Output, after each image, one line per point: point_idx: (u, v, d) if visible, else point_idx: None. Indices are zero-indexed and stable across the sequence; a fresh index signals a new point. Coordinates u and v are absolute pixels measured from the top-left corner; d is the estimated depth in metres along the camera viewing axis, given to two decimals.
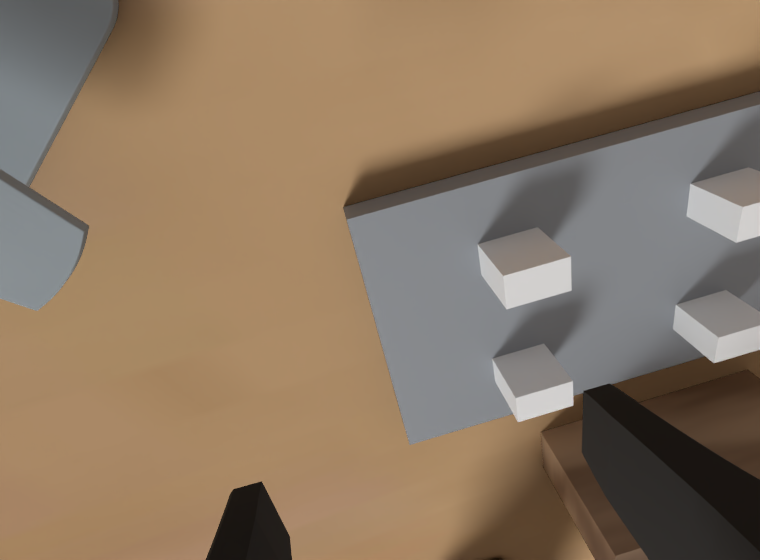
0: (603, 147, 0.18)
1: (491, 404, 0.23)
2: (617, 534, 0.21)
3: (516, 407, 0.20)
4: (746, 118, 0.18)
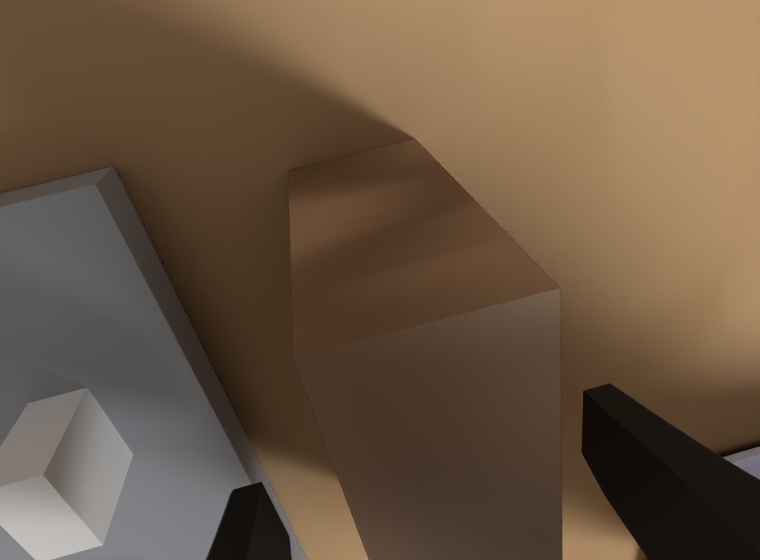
0: None
1: None
2: None
3: None
4: None
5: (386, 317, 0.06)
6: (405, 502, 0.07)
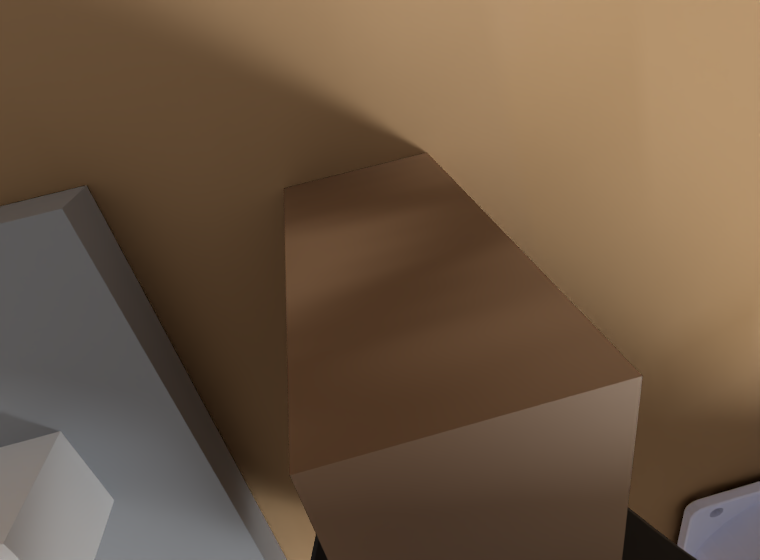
0: None
1: None
2: None
3: None
4: None
5: (412, 411, 0.04)
6: None
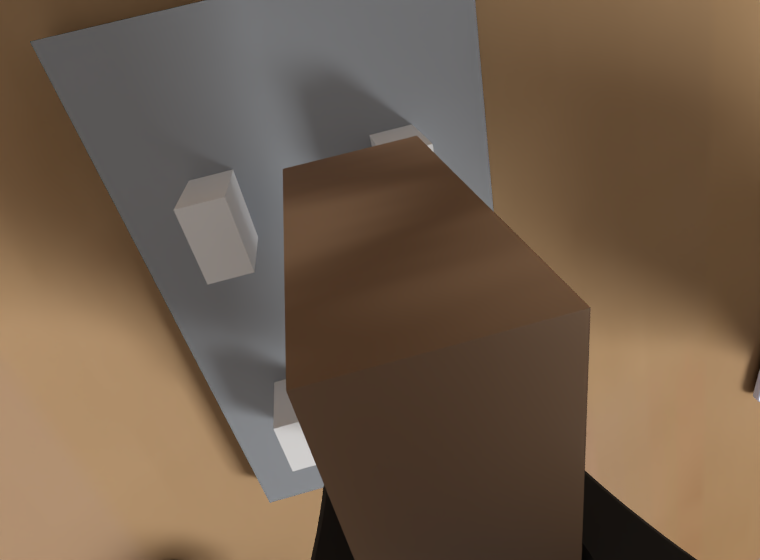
0: (189, 347, 0.18)
1: None
2: None
3: None
4: (131, 210, 0.15)
5: (392, 340, 0.05)
6: (411, 540, 0.06)
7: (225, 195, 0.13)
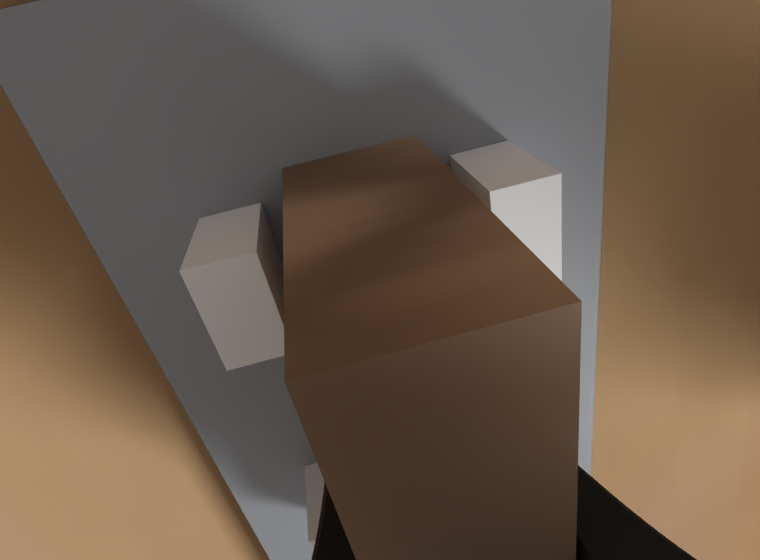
0: (196, 428, 0.14)
1: None
2: None
3: None
4: (118, 258, 0.11)
5: (388, 333, 0.05)
6: (409, 530, 0.06)
7: (256, 248, 0.09)
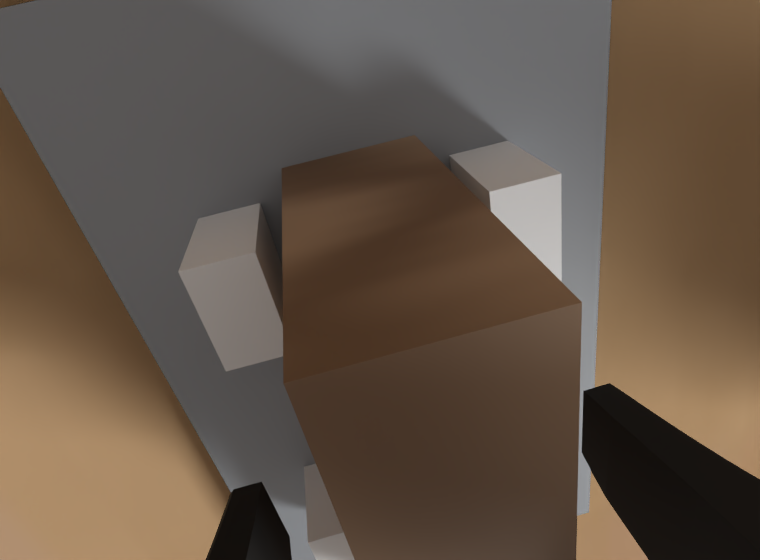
0: (195, 429, 0.14)
1: None
2: None
3: None
4: (117, 258, 0.11)
5: (387, 334, 0.05)
6: (408, 532, 0.06)
7: (255, 249, 0.09)
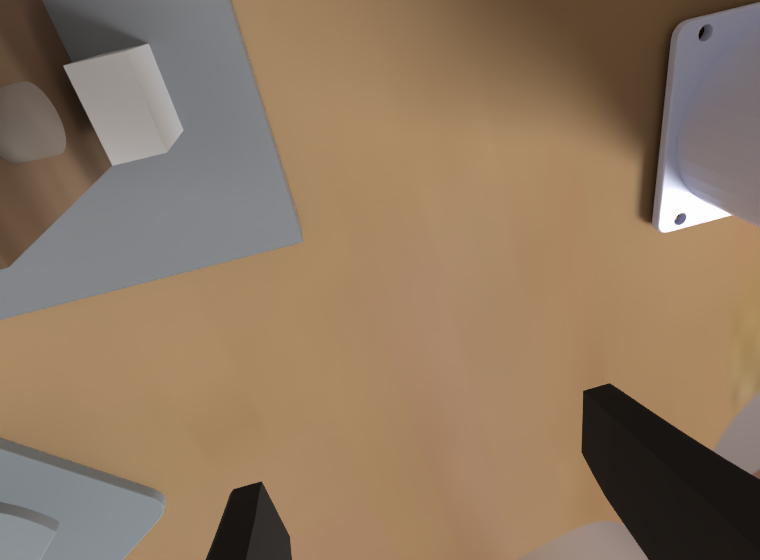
0: None
1: (232, 130, 0.15)
2: None
3: (135, 159, 0.13)
4: None
5: None
6: None
7: None
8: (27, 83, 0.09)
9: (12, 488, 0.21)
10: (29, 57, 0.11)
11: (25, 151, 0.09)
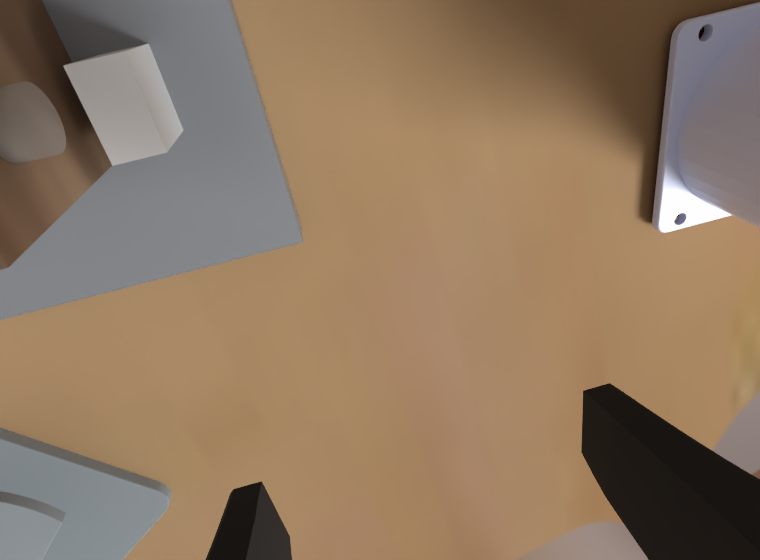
0: None
1: (232, 130, 0.15)
2: None
3: (135, 159, 0.13)
4: None
5: None
6: None
7: None
8: (27, 83, 0.09)
9: (17, 480, 0.21)
10: (29, 56, 0.11)
11: (25, 151, 0.09)
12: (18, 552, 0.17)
